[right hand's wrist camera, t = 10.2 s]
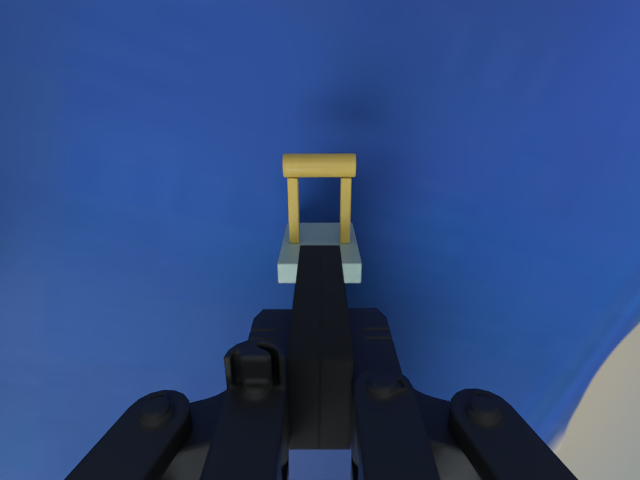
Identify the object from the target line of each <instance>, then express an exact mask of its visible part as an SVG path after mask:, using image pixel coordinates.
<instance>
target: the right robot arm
mask: <svg viewBox="0 0 640 480" xmlns="http://www.w3.org/2000/svg"><path fill="white" fill-rule="evenodd" d="M224 364H225V373H226V382H227V390H225V391H224V392H222V393H220V394H218V395H217V396H214V397H211V398H208V399H204V400H200V401H196V402H192V403H189V400H188V399H187V397H186V396H185V395H184V394H182V393H180V392H177V391H174V390H162V391H158V392H154V393H150V394H148V395H146V396H144V397H142V398H140V399H139V400H137V401H136V402H135V403H134V404H133V405H131V406H130V407H129V408H128V409H127V410H126V412H125V413H124V414H123V415H122V416H121V417H120V418H119V419H118V420H117V422H116V423H115V424H114V425H113V426H112V427H111V428H110V429H109V430H108V432H107V433H106V434H105V435H104V436H103V437H102V438H101V439H100V440H99V442H98V443H97V444H96V445H95V446H94V447H93V448H92V449H91V450H90V452H89V453H88V454H87V455H86V456H85V457H84V458H83V459H82V460H81V462H80V463H79V464H78V465H77V466H76V467H75V468H74V469H73V470H72V472H71V473H70V474H69V475H68V476H67V477H66V478H65V479H64V480H289V445H290V450H350V445H351V476H350V480H578V479H577V478H576V477H575V476H574V475H573V474H572V473H571V471H570V470H569V469H568V468H567V467H566V466H565V465H564V464H563V463H562V461H561V460H560V459H559V458H558V457H557V456H556V455H555V454H554V453H553V451H552V450H551V449H550V448H549V447H548V446H547V445H546V444H545V443H544V442H543V440H542V439H541V438H540V437H539V436H538V435H537V434H536V433H535V432H534V431H533V429H532V428H531V427H530V426H529V425H528V424H527V423H526V422H525V421H524V419H523V418H522V417H521V416H520V415H519V414H518V413H517V412H516V411H515V410H514V408H513V407H512V406H511V405H510V404H508V403H507V402H506V401H505V400H504V399H502V398H501V397H499V396H497V395H495V394H493V393H491V392H489V391H485V390H480V389H464V390H462V391H459V392H457V393H456V394H455V395H454V396H453V397H452V399H451V402H450V401H446V400H442V399H438V398H434V397H431V396H428V395H425V394H423V393H421V392H419V391H417V390H415V389H414V388H413V387H412V385H411V383H410V381H409V380H408V379H407V378H406V377H405V376H404V375H402V372H401V369H400V365H399V362H398V358H397V354H396V351H395V347H394V344H393V340H392V337H391V333H390V331H389V326H388V322H387V319H386V317H385V316H384V315H383V314H382V313H381V312H380V311H379V310H378V309H377V308H347V299H346V291H345V283H344V275H343V266H342V258H341V250H340V245H300V250H299V258H298V266H297V275H296V283H295V291H294V299H293V307H292V309H263V310H262V311H261V312H260V313H259V314H258V315H257V316H256V317H255V318H254V320H253V324H252V327H251V332H250V335H249V338H248V340H247V341H245V342H242V343H239V344H237V345H235V346H234V347H232V348H231V349H230V350H228V352H227V354H226V355H225V357H224Z"/></svg>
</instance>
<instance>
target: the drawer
mask: <svg viewBox="0 0 640 480" xmlns="http://www.w3.org/2000/svg"><path fill="white" fill-rule="evenodd" d="M283 176H284V177H288V179H287V184H288V214H289V223H287V225H286V229H285V234H284V238H283V242H282V246H281V251H280V255H279V259H278V264H277V268H278V283H296V275H297V266H298V258H299V250H300V245H340V250H341V258H342V266H343V275H344V283H361V276H362V262H361V258H360V253H359V249H358V245H357V240H356V236H355V232H354V227H353V223H350V222H351V186H352V178H351V177H355V176H356V154H355V153H328V154H283ZM298 177H341V182H340V223H299V179H298Z"/></svg>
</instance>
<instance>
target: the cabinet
mask: <svg viewBox="0 0 640 480" xmlns="http://www.w3.org/2000/svg"><path fill="white" fill-rule="evenodd" d="M350 476H351V445H350V450H290V445H289V480H350Z"/></svg>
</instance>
